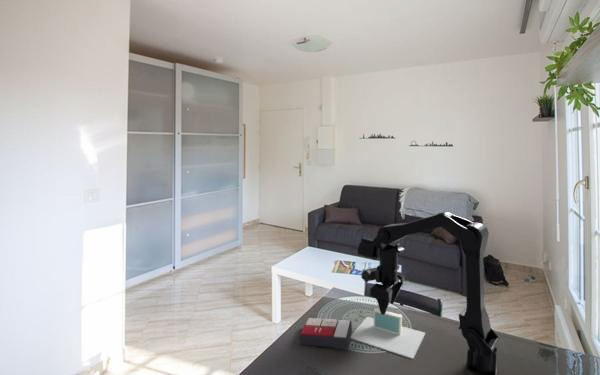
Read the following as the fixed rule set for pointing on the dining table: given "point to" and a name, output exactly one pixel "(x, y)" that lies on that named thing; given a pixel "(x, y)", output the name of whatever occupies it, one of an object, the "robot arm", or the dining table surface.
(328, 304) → the dining table surface
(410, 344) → the mat
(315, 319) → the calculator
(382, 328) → the block
